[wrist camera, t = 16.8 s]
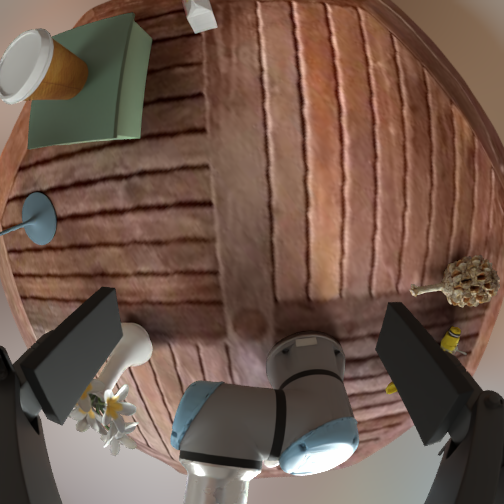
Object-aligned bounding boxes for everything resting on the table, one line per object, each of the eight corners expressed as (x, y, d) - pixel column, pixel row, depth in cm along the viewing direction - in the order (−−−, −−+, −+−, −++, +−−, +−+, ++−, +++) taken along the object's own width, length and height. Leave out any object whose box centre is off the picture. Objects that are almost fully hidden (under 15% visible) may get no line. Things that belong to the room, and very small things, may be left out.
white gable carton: (208, -1, 32) (197, -32, 23) (217, 27, 34) (207, -3, 25) (187, 5, 33) (171, -24, 23) (195, 33, 34) (179, 6, 25)
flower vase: (136, 375, 55) (94, 462, 31) (93, 305, 50) (21, 383, 26) (186, 366, 53) (154, 469, 30) (143, 289, 48) (71, 381, 24)
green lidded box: (142, 141, 40) (113, 137, 31) (63, 147, 40) (27, 149, 31) (155, 36, 34) (132, 12, 25) (75, 53, 35) (44, 39, 25)
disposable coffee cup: (44, 73, 27) (-8, 60, 16) (92, 38, 26) (43, 11, 15) (53, 122, 30) (-5, 119, 18) (103, 88, 29) (47, 69, 17)
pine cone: (482, 243, 43) (512, 259, 34) (477, 285, 46) (504, 306, 37) (396, 261, 45) (422, 285, 36) (394, 309, 48) (416, 338, 39)
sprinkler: (488, 342, 42) (446, 410, 48) (472, 326, 50) (436, 391, 55) (429, 336, 43) (386, 413, 48) (414, 318, 50) (377, 391, 56)
